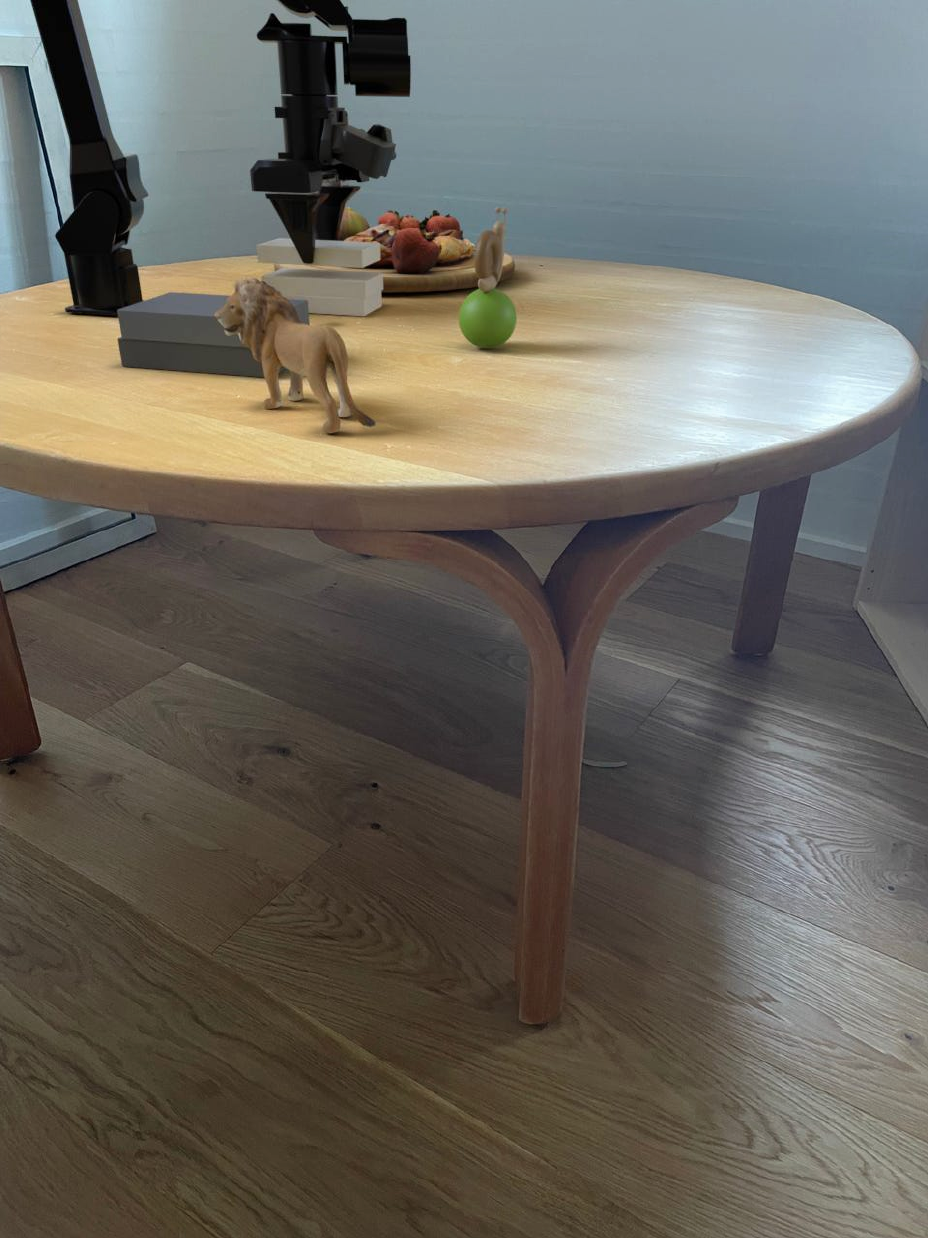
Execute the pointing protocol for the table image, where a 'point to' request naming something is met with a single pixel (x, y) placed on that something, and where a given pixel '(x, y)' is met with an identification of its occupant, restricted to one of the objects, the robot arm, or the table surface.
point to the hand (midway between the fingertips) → (319, 259)
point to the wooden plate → (413, 252)
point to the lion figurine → (290, 348)
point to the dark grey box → (187, 336)
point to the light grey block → (330, 289)
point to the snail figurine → (488, 293)
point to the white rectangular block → (321, 253)
